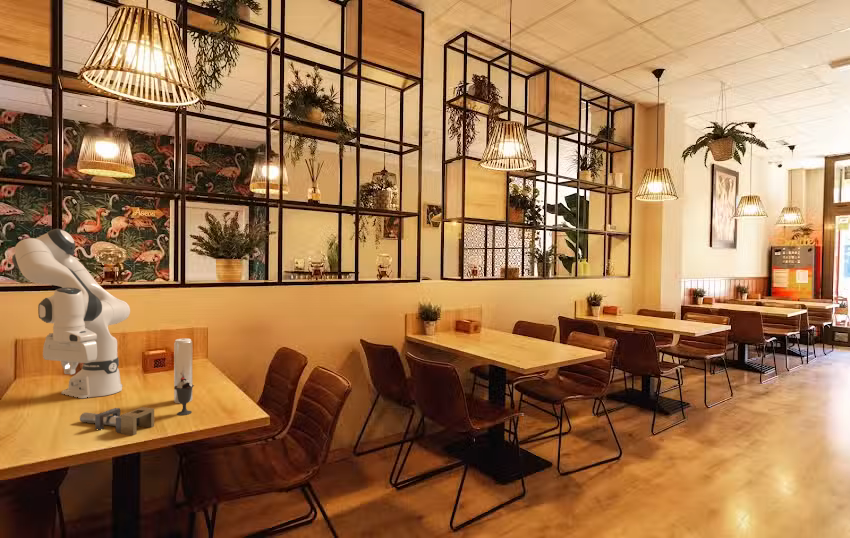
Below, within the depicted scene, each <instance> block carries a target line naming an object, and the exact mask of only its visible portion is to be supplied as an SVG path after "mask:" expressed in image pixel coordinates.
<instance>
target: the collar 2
mask: <svg viewBox="0 0 850 538" xmlns="http://www.w3.org/2000/svg"><path fill="white" fill-rule="evenodd" d="M137 414H138V413H137ZM136 425H137V427H140V426H139V418H136ZM116 432H117V434H121V415H120V416H119V417H116V426H115V433H116Z"/></svg>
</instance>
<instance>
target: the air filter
mask: <svg viewBox="0 0 850 538" xmlns="http://www.w3.org/2000/svg"><path fill="white" fill-rule="evenodd" d="M173 347H174V348H173V351H174V353H173V359H174V360H173V361H174V362H173V363H174V365H173V368H174V369H173V371H174V372H173V373H174V374H173V379H174V380H173V382H174V383H173V384H174V385H173V389H174V387H175V386H178V384H179V382H180V381H181V378H182V375H183V378H184V379H187V380H188V381H189V383H190V384H192V385H193V340H192V339H191V338H177V339H175V340H174V343H173ZM180 373H182V374H180ZM173 396H174V398H173V401H174V403H175V404H181V403H180V402H179V401H178V396H177V391H176V389H174V393H173ZM192 401H193V392H192V393H191V399H190V401H189V402H188V403H191V402H192Z"/></svg>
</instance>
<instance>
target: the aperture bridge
mask: <svg viewBox="0 0 850 538" xmlns="http://www.w3.org/2000/svg"><path fill="white" fill-rule="evenodd" d="M137 413H138V414H137ZM120 416H121V433H120V434H121V435H129V436H136V435H137V428H138V427H144V428H151V429H152V428H154V427H155V408H154V407H153V408H152V407H146V406H145V407H143V406H142V407H141V406H140V407H138V408H136V409H134V410H133V409H132V410H130V411H129V412H125V413H123V414H120ZM136 418H139V426H137V425H136Z"/></svg>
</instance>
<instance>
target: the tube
mask: <svg viewBox="0 0 850 538" xmlns="http://www.w3.org/2000/svg"><path fill="white" fill-rule="evenodd" d="M97 414H98V413H92V412H83V413H82V414H81V415H80V416H79V421H80V422H81V423H86V422H87V423H88V424H94V423H95V415H97ZM116 417H119V416H112V414H111V415H109V416H106V417H103V426H111V427H112V426H113V427H116Z"/></svg>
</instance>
